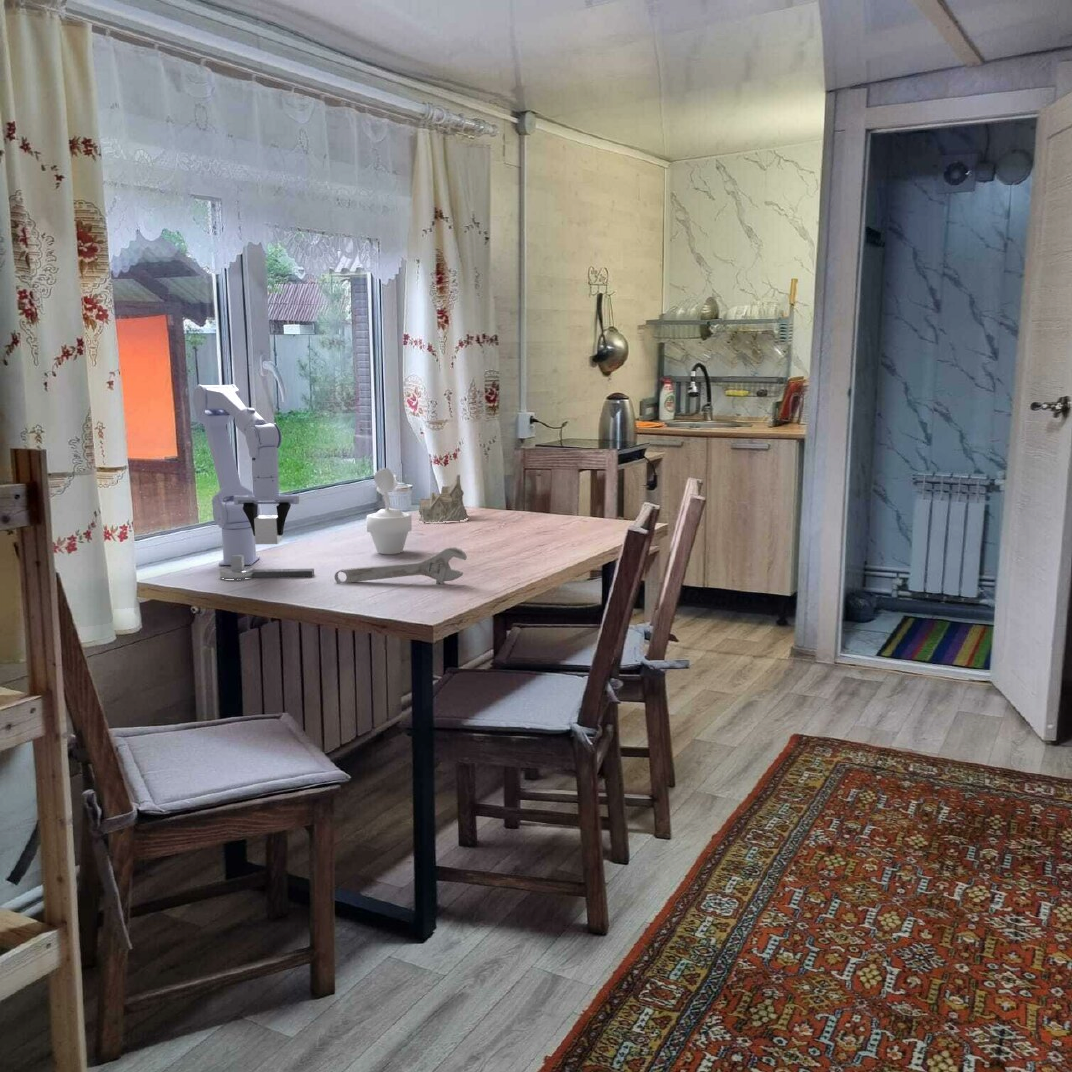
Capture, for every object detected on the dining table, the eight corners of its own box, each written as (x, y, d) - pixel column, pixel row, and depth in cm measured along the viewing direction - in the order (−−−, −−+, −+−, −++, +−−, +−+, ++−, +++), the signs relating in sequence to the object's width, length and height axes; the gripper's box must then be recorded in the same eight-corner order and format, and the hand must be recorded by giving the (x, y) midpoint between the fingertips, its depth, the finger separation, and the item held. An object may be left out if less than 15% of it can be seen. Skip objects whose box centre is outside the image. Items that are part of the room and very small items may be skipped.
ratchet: (225, 573, 236) (224, 552, 235) (316, 572, 236) (315, 551, 236) (216, 580, 228) (214, 559, 227) (310, 579, 229) (309, 558, 228)
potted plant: (404, 557, 254) (402, 458, 250) (360, 555, 257) (357, 457, 253) (420, 548, 267) (417, 453, 262) (378, 547, 269) (375, 453, 265)
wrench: (339, 594, 227) (470, 581, 224) (337, 595, 226) (468, 582, 222) (334, 559, 226) (465, 545, 223) (331, 560, 224) (464, 547, 221)
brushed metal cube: (260, 540, 237) (259, 515, 236) (281, 540, 238) (280, 515, 237) (255, 544, 233) (254, 518, 232) (277, 544, 233) (276, 518, 232)
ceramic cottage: (468, 515, 325) (464, 469, 322) (469, 525, 309) (465, 476, 306) (419, 519, 324) (415, 472, 321) (418, 529, 308) (413, 480, 305)
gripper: (229, 478, 228) (232, 538, 231) (294, 478, 229) (296, 537, 231) (236, 475, 235) (239, 533, 237) (299, 475, 236) (302, 532, 238)
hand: (268, 535), depth 235 cm, fingers closed on brushed metal cube, 5 cm apart
